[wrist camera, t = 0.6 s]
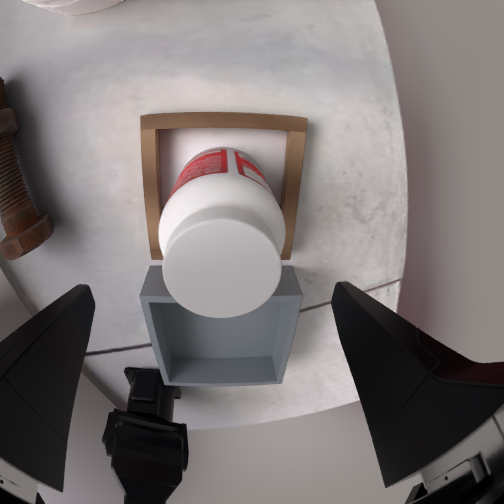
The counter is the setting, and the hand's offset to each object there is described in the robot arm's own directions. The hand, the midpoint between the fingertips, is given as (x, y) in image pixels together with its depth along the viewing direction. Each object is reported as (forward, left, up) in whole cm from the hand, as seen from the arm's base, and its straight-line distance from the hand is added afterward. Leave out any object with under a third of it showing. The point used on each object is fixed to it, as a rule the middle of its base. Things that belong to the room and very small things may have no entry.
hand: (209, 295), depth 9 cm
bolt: (+4, +18, -13) cm, 22 cm away
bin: (-13, 0, -12) cm, 18 cm away
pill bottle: (0, 0, -13) cm, 13 cm away
